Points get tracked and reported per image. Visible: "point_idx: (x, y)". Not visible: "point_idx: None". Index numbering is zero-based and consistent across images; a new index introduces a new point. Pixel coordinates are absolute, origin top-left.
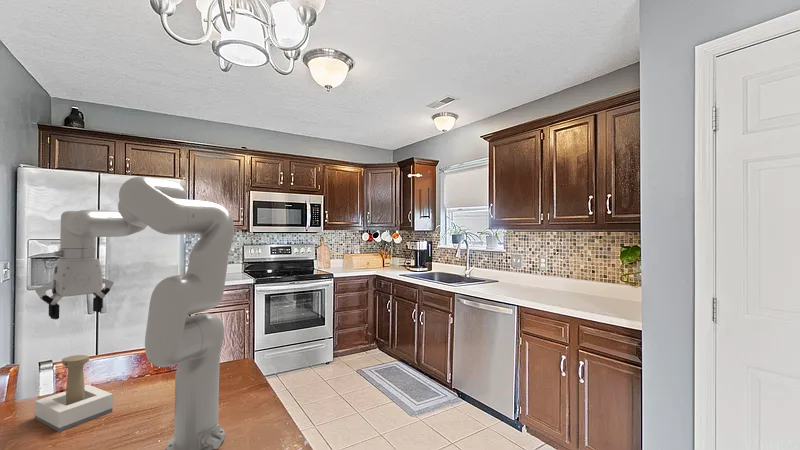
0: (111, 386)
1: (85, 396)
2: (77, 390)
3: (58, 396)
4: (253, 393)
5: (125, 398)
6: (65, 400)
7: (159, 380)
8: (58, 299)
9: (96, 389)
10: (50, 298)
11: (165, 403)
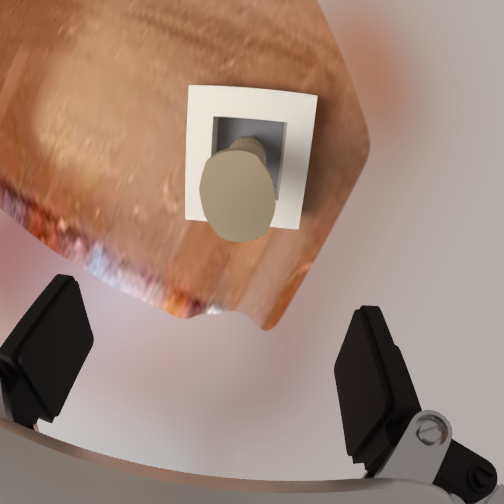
0: (130, 235)
1: None
2: (249, 143)
3: None
4: None
5: (144, 132)
6: None
7: (59, 169)
8: (402, 461)
9: (192, 160)
10: (449, 475)
11: (120, 20)
